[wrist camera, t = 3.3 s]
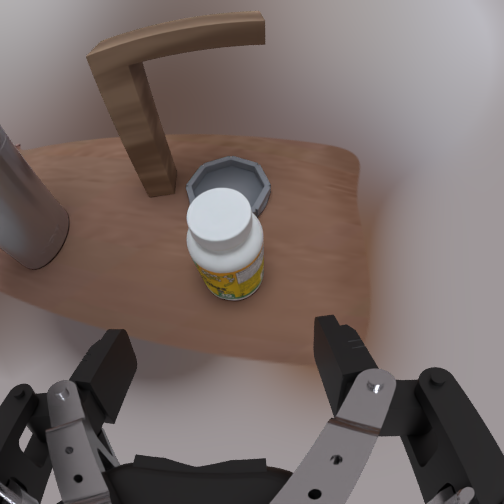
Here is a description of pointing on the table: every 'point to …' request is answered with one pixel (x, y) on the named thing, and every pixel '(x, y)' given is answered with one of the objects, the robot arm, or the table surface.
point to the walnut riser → (138, 90)
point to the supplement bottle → (226, 243)
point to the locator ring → (232, 180)
